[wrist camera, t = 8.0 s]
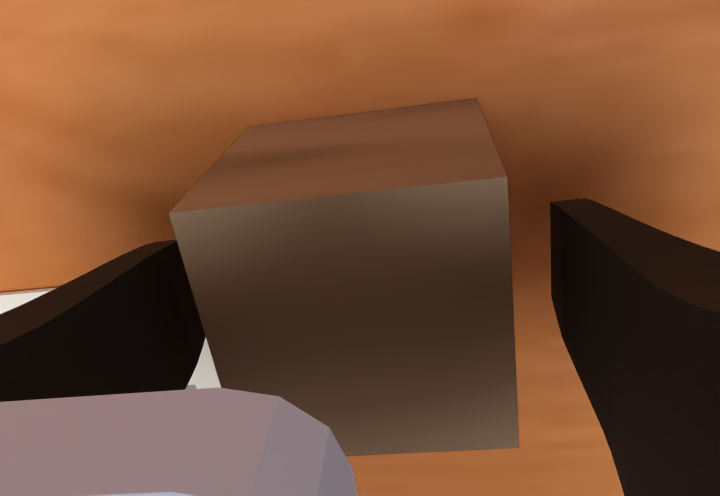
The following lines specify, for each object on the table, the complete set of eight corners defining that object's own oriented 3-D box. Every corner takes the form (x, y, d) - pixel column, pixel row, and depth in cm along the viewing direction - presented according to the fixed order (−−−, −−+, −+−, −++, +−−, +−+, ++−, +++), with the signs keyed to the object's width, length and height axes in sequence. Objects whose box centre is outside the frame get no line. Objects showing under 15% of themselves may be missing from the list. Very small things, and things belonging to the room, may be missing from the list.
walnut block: (489, 299, 15) (519, 447, 11) (292, 315, 16) (243, 461, 11) (476, 97, 13) (507, 176, 9) (249, 125, 14) (168, 213, 9)
